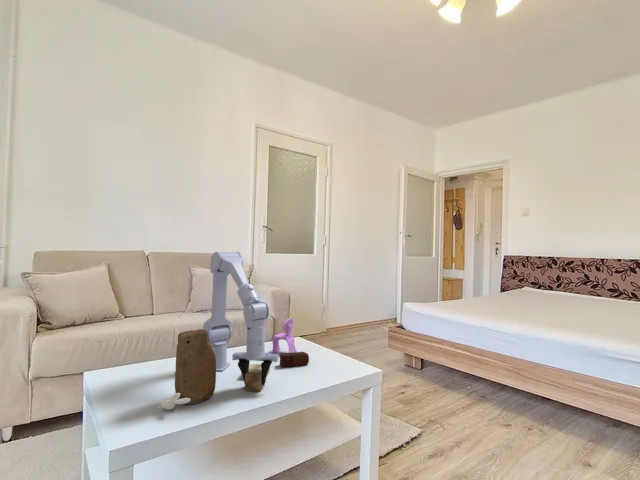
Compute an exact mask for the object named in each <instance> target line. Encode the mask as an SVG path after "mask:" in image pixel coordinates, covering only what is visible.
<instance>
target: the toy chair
mask: <svg viewBox="0 0 640 480" xmlns="http://www.w3.org/2000/svg"><path fill="white" fill-rule="evenodd" d="M293 325H294V318H293V317H289V318H288V319H286V320H285V321H284V322H283V325H282V326H283V327H282V330H283V331H284V332H285V333H284V332H280V333H278V334H275V335H273V338H272V354H276V353H277V352H279V351H281V347H280V340H284V341H286V342H287V346H288V353H293V352H298V351H297V349H296V345H295V336H294V334H293V333H292V331H293Z"/></svg>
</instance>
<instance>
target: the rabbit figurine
mask: <svg viewBox="0 0 640 480" xmlns="http://www.w3.org/2000/svg"><path fill="white" fill-rule="evenodd" d="M179 397H180V393H175V394H173V395H172V396H170V397H169V398H165V399H164V400H163V401H162V402H160V405H157V408H158V409H160V410H166V411H167V410H169V411H171V410H172V409H174V408H175V407H176V405H187V404H186V403H188V402H190V401H191V399H190V398H181V399H179ZM178 410H179V408H177V409H176V410H174V413H176V412H177V411H178Z"/></svg>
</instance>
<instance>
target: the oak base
mask: <svg viewBox="0 0 640 480" xmlns="http://www.w3.org/2000/svg"><path fill="white" fill-rule="evenodd" d="M261 364H262V363H260V364H259V363H256V364H255V363H249V370H250V369H259V370H262V369H261ZM270 373H271V367H270V368H269V370H268V373H267V377H268V376H269V374H270ZM240 379H241V380H244V379H243V375H242V372H241V371H240Z"/></svg>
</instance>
